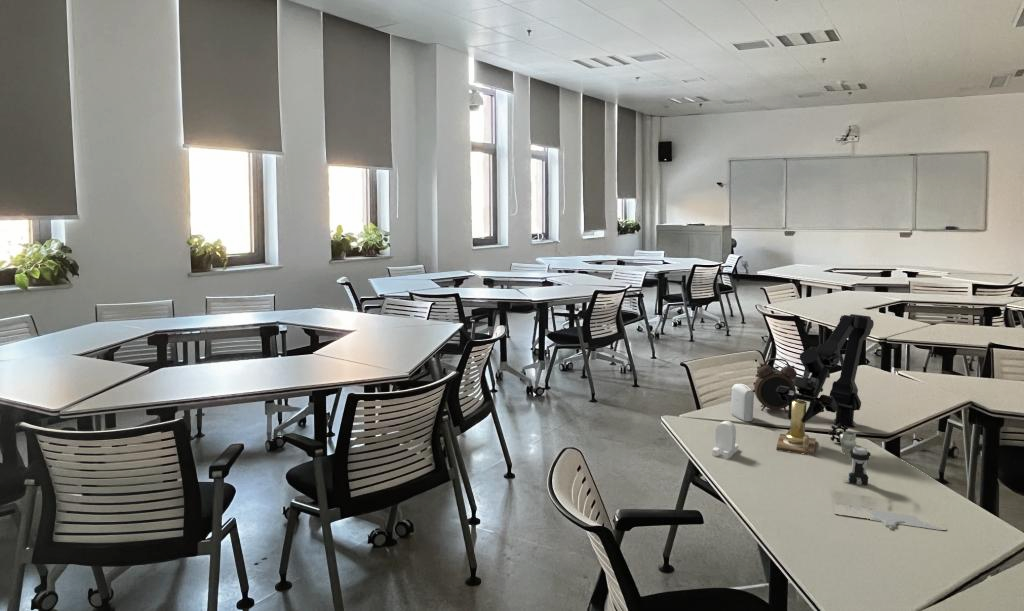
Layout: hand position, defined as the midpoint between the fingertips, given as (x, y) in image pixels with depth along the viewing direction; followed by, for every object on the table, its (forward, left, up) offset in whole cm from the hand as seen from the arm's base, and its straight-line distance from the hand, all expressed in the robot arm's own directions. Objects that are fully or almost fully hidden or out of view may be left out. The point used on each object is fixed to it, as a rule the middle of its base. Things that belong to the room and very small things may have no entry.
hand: (796, 420), depth 228 cm
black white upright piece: (+24, +17, -9) cm, 31 cm away
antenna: (+40, +24, -9) cm, 48 cm away
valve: (-5, +15, -9) cm, 18 cm away
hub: (-2, 0, -7) cm, 7 cm away
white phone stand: (+15, -20, -9) cm, 26 cm away
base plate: (-1, 0, -9) cm, 9 cm away
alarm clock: (-38, -10, -9) cm, 40 cm away
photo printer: (-24, -20, -9) cm, 32 cm away
